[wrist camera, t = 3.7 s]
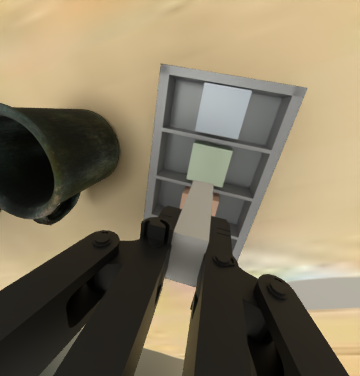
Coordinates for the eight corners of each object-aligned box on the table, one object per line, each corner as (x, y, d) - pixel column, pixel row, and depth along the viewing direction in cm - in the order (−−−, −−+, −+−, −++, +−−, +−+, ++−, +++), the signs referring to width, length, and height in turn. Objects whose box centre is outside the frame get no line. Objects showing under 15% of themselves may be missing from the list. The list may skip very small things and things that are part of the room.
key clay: (180, 213, 26) (176, 223, 24) (185, 185, 24) (182, 192, 22) (210, 221, 25) (210, 232, 23) (219, 193, 23) (219, 201, 21)
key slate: (197, 128, 21) (194, 130, 19) (206, 85, 19) (204, 82, 17) (235, 136, 20) (237, 139, 18) (248, 93, 19) (252, 90, 17)
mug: (127, 116, 25) (55, 118, 14) (118, 206, 31) (63, 257, 20) (56, 97, 26) (-62, 86, 15) (61, 188, 32) (-21, 227, 21)
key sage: (189, 173, 24) (186, 179, 22) (196, 139, 23) (193, 142, 20) (222, 180, 24) (222, 187, 22) (231, 147, 22) (232, 151, 20)
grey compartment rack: (149, 232, 32) (140, 247, 28) (170, 71, 22) (160, 63, 18) (230, 254, 30) (231, 274, 26) (291, 92, 20) (307, 87, 17)
